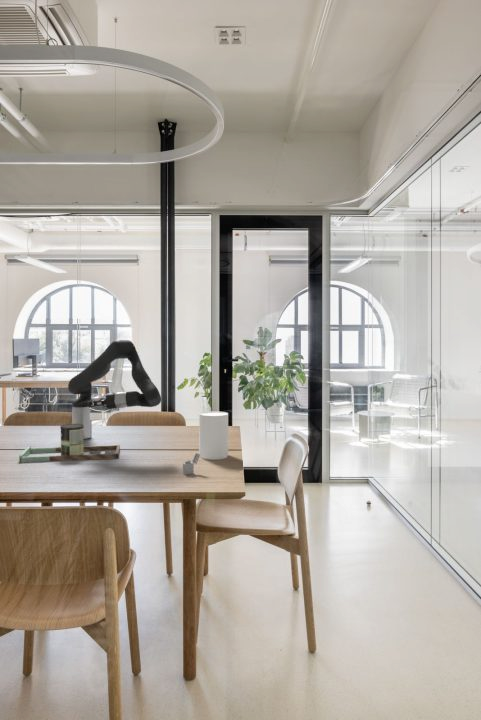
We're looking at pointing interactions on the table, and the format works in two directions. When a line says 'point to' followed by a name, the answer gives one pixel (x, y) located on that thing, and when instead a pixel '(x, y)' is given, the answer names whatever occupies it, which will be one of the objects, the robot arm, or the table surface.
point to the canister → (213, 435)
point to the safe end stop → (35, 458)
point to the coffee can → (72, 439)
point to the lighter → (190, 465)
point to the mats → (105, 452)
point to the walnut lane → (89, 456)
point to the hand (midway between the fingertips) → (82, 404)
